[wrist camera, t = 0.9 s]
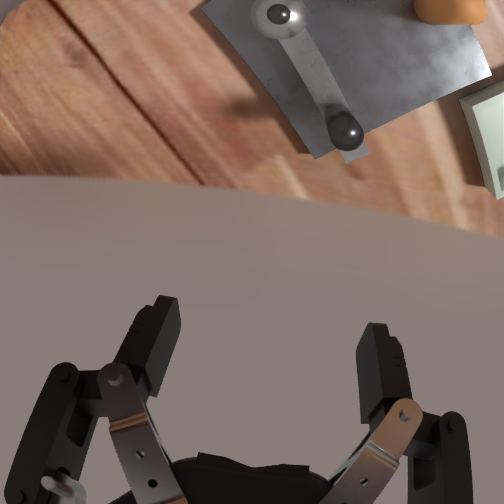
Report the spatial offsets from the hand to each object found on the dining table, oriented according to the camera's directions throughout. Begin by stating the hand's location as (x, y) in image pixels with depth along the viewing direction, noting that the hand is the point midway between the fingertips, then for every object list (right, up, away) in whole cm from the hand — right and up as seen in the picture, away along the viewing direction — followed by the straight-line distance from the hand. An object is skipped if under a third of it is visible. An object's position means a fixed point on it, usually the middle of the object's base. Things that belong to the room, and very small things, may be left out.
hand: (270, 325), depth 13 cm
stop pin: (+15, +24, +4) cm, 28 cm away
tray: (+27, +16, +10) cm, 33 cm away
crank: (+5, +18, +10) cm, 21 cm away
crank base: (+9, +23, +8) cm, 26 cm away
